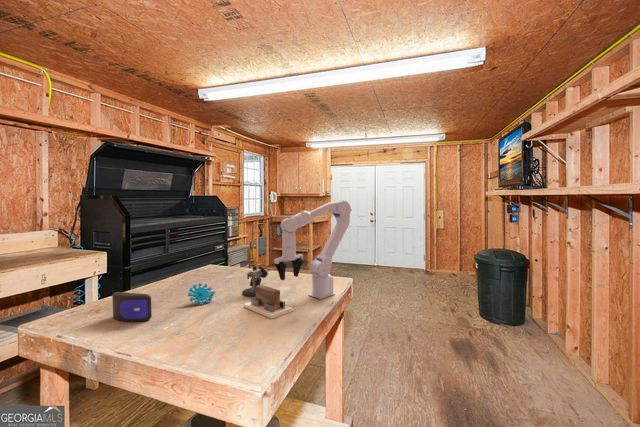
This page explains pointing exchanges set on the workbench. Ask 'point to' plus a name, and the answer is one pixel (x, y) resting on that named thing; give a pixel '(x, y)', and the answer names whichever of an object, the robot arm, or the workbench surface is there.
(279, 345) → the workbench surface
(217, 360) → the workbench surface
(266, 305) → the hinge clips
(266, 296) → the brown wooden block
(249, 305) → the cabinet panel
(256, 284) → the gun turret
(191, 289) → the gear
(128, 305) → the purple-faced speaker box
